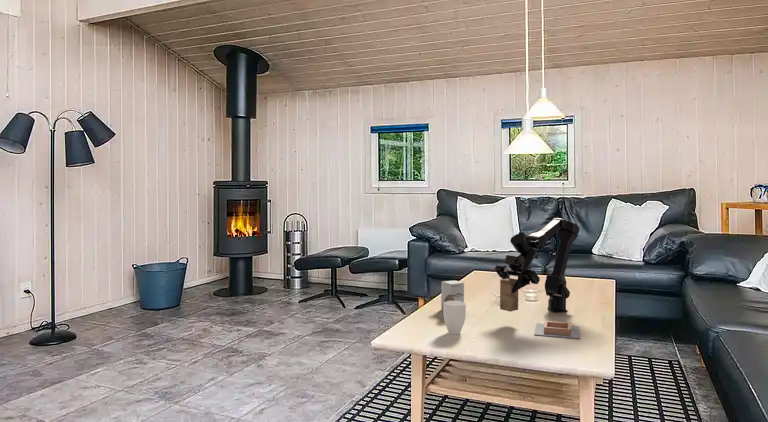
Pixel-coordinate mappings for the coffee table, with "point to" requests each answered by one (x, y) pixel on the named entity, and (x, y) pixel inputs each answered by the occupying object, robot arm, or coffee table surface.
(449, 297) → the decorative egg
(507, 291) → the block
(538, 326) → the holder
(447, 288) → the supplement box
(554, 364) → the coffee table surface
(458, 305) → the mug
